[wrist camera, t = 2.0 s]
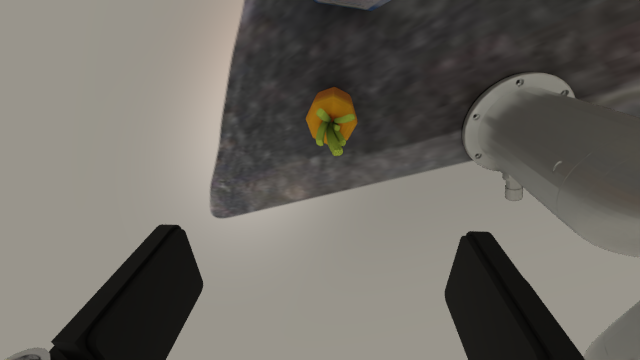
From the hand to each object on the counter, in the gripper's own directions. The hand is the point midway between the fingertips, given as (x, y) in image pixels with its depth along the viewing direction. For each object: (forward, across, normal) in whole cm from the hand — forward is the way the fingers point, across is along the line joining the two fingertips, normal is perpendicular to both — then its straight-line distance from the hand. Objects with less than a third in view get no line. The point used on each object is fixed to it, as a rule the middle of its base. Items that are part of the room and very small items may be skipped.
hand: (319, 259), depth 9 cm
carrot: (+28, 0, +1) cm, 29 cm away
